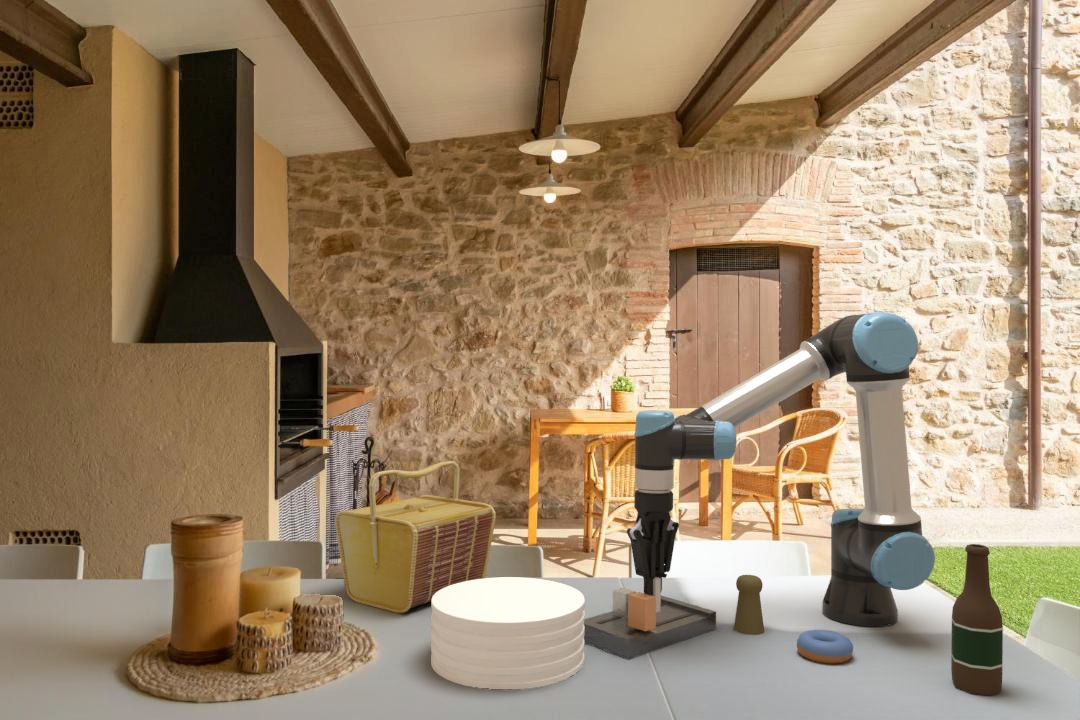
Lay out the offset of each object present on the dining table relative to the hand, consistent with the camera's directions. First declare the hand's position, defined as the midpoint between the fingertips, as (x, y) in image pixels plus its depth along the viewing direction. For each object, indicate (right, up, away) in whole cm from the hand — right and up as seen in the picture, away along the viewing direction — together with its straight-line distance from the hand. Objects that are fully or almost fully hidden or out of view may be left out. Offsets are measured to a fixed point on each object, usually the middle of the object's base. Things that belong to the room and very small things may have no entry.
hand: (652, 610), depth 160 cm
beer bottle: (+52, -7, -21) cm, 57 cm away
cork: (+21, -6, +7) cm, 23 cm away
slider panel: (-1, -6, +4) cm, 8 cm away
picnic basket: (-51, -6, +30) cm, 59 cm away
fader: (-2, -3, -2) cm, 4 cm away
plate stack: (-28, -6, -10) cm, 30 cm away
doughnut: (+31, -7, -7) cm, 33 cm away
